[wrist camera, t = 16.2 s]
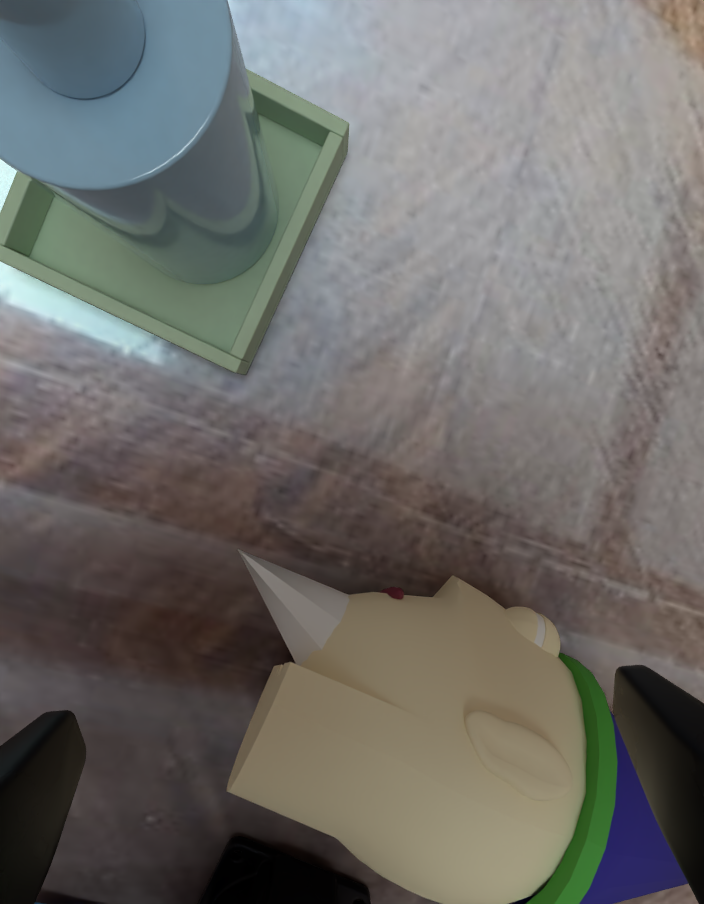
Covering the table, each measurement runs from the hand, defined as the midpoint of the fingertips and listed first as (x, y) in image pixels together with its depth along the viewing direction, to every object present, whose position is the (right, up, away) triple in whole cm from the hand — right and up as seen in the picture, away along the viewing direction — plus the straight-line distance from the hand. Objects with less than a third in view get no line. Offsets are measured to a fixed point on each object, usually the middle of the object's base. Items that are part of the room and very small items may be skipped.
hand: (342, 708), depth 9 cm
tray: (-6, +13, +11) cm, 18 cm away
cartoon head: (+4, -5, +13) cm, 15 cm away
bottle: (-5, +13, +10) cm, 17 cm away
